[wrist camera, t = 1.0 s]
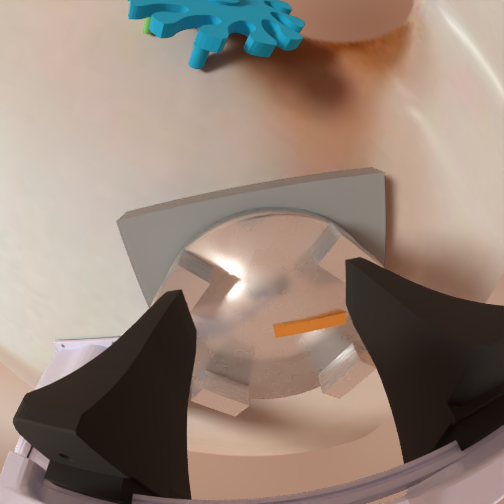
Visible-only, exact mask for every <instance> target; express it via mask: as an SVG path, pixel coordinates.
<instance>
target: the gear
mask: <svg viewBox="0 0 504 504" xmlns="http://www.w3.org/2000/svg"><path fill="white" fill-rule="evenodd" d="M128 1H130V8H129V14H128V17H129V19H143V18H146V19H145V24H144V29H143V33H145V34H152V33H153V34H155V35H156V36H158V37H160V38H168V37H172V36H174V35H175V34H176V33H178V32H180V31H182V30H185V29H191V28H196V29H198V33H197V35H196V38H195V41H194V48H193V51H192V54H191V58H190V61H189V66H190V67H192V68H195V69H201V68H203V67H204V65H205V62H206V59H207V57H208V54H209V51H211V52H214V53H219V52H221V51H222V50H223V48H224V45H225V43H226V41H227V38H228V36H229V34H231V33H241V34H244V35H246V36H247V37H248V39H247V41H246V43H245V45H244V47H243V48H244V50H245V52H246V53H248V54H251V55H255V56H261V57H270V55H271V53H272V52H273V50H274V48H275V47H276V45H277V46H278V47H279V48H281V49H282V50H287V51H288V50H294V49H297V47H298V46H299V44H300V43H301V41H302V40H303V37H302V36H301V35H300V34H299V33H300V31H301V30H302V28H303V27H304V25H305V22H304V21H302V20H301V19H299V18H297V17H294V16H291V15H289V14H290V12H291V11H292V8H291V7H290V5H289V4H288V3H286V2H283V1H280V0H128ZM268 33H269V34H271V35H272V36H273V37H271V36H270V35H269V34H268Z"/></svg>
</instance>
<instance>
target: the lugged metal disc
mask: <svg viewBox="0 0 504 504" xmlns="http://www.w3.org/2000/svg"><path fill="white" fill-rule="evenodd" d="M357 257H362V258H364V259H367V260H369V261H371V262H373V263H375V264H377V265H379V266H381V267H383V266H382V264H381V263H380V262H379V261H378V260H377V259H376V258H375V257H374V256H373V255H372V254H371V253H369V252H368V251H367V250H366V249H364V248H363V247H362V246H361V245H360V244H359V243H358V242H357V241H356V240H355V239H354V238H353V237H352V236H351V235H350V234H349V233H348V232H347V231H346V230H345V229H343V228H342V227H341V226H339V225H338V224H336V223H334V222H333V221H331V220H329V219H327V218H325V217H323V216H321V215H319V214H316V213H312V212H309V211H306V210H302V209H295V208H289V207H264V208H255V209H250V210H246V211H242V212H238V213H235V214H232V215H229V216H227V217H224V218H222V219H220V220H218V221H216V222H214V223H212V224H211V225H209V226H207V227H205V228H204V229H203V230H201V231H200V232H199V233H198V234H196V235H195V236H194V237H192V239H191V240H190V241H189V242H188V243H187V244H186V245H185V246H184V247H183V248H182V249H181V250H180V252H179V253H178V255H177V256H176V257H175V259H174V261H173V263H172V265H171V266H170V268H169V270H168V273H167V275H166V277H165V280H164V281H163V283H162V285H161V286H160V288H159V290H158V291H157V293H156V295H155V297H154V299H153V302H152V304H151V306H152V305H153V304H154V303H155V302H156V301H157V300H158V299H159V298H160V297H161V296H162V295H163V294H164V293H166V292H167V291H173V290H179V289H182V291H183V294H184V297H185V300H186V303H187V306H188V308H189V311H190V314H191V317H192V319H193V322H194V325H195V327H196V330H197V340H196V356H195V362H194V368H193V374H192V379H194V381H193V386H192V394H191V401H193V402H195V403H198V404H200V405H203V406H206V407H208V408H211V409H214V410H217V411H220V412H223V413H226V414H229V415H232V416H235V417H236V416H237V415H238V414H239V413H241V412H242V411H243V410H245V409H246V408H247V407H248V406H249V398H252V399H272V398H281V397H287V396H292V395H296V394H300V393H303V392H306V391H310V390H312V389H314V388H317V387H319V386H321V389H322V392H323V393H324V394H327V395H330V396H333V397H336V398H341V397H342V396H344V395H345V394H346V393H347V392H349V391H350V390H351V389H352V388H354V387H355V386H356V385H357V384H359V383H360V382H361V381H362V380H363V379H365V378H366V377H367V376H368V375H369V374H371V373H372V372H373V371H374V370H375V369H376V367H375V364H374V363H373V361H372V359H371V357H370V355H369V353H368V351H367V350H366V347H365V346H364V344H363V342H362V340H361V338H360V336H359V334H358V332H357V331H356V329H355V327H354V325H353V322H352V320H351V317H350V315H349V312H348V309H347V306H346V271H345V260H347V259H352V258H357ZM383 268H384V267H383ZM151 306H150V307H151Z"/></svg>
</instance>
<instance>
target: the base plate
mask: <svg viewBox="0 0 504 504" xmlns="http://www.w3.org/2000/svg"><path fill="white" fill-rule="evenodd" d="M264 207H289V208H295V209H302V210H306V211H309V212H312V213H316V214H319V215H321V216H323V217H325V218H327V219H329V220H331V221H333V222H334V223H336V224H338V225H339V226H341V227H342V228H343V229H345V230H346V231H347V232H348V233H349V234H350V235H351V236H352V237H353V238H354V239H355V240H356V241H357V242H358V243H359V244H360V245H361V246H362V247H363V248H364V249H366V250H367V251H368V252H369V253H371V254H372V255H373V256H374V257H375V258H376V259H377V260H378V261H379V262H380V263H381V264H382V266H383V267H384V264H385V232H386V210H385V178H384V172H382V171H379V170H377V169H374V168H372V167H371V168H362V169H353V170H345V171H337V172H329V173H322V174H315V175H308V176H301V177H295V178H288V179H282V180H276V181H270V182H264V183H258V184H253V185H247V186H242V187H236V188H231V189H226V190H221V191H216V192H211V193H206V194H201V195H197V196H192V197H188V198H183V199H179V200H174V201H170V202H166V203H161V204H157V205H153V206H149V207H145V208H141V209H137V210H133V211H129V212H126V213H125V214H124V215H123V216H122V217H121V218H119V219H118V220H117V225H118V228H119V231H120V234H121V237H122V239H123V242H124V245H125V248H126V251H127V254H128V256H129V259H130V262H131V264H132V267H133V270H134V272H135V275H136V277H137V280H138V282H139V285H140V287H141V290H142V292H143V295H144V297H145V300H146V302H147V304H148V307H149V308H150V306H151V304H152V302H153V299H154V297H155V295H156V293H157V291H158V290H159V288H160V286H161V285H162V283H163V281H164V280H165V277H166V275H167V273H168V270H169V268H170V266H171V265H172V263H173V261H174V259H175V257H176V256H177V255H178V253H179V252H180V250H181V249H182V248H183V247H184V246H185V245H186V244H187V243H188V242H189V241H190V240H191V239H192V237H194V236H195V235H196V234H198V233H199V232H200V231H201V230H203V229H204V228H205V227H207V226H209V225H211V224H212V223H214V222H216V221H218V220H220V219H222V218H224V217H227V216H229V215H232V214H235V213H238V212H242V211H246V210H250V209H255V208H264ZM366 350H367V349H366ZM193 381H194V379H192V380H191V386H190V393H191V394H192V386H193Z"/></svg>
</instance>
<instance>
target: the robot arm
mask: <svg viewBox="0 0 504 504" xmlns="http://www.w3.org/2000/svg"><path fill="white" fill-rule="evenodd" d="M345 271H346V306H347V309H348V312H349V315H350V317H351V320H352V322H353V325H354V327H355V329H356V331H357V332H358V334H359V336H360V338H361V340H362V342H363V344H364V346H365V347H366V349H367V351H368V353H369V355H370V357H371V359H372V361H373V363H374V364H375V366H376V368H377V371H378V373H379V375H380V377H381V380H382V383H383V386H384V389H385V391H386V394H387V397H388V400H389V404H390V407H391V410H392V413H393V417H394V421H395V424H396V428H397V432H398V436H399V440H400V445H401V450H402V455H403V460H404V464H403V465H401V466H398V467H395V468H393V469H390V470H387V471H384V472H381V473H378V474H375V475H372V476H369V477H366V478H362V479H359V480H356V481H352V482H349V483H345V484H341V485H337V486H332V487H328V488H323V489H319V490H314V491H308V492H303V493H297V494H291V495H283V496H275V497H266V498H256V499H241V500H191V492H190V484H189V474H188V459H187V407H188V398H189V392H190V386H191V380H192V374H193V368H194V362H195V356H196V340H197V330H196V327H195V325H194V322H193V319H192V317H191V314H190V311H189V308H188V306H187V303H186V300H185V297H184V294H183V291H182V289H179V290H173V291H167V292H166V293H164V294H163V295H162V296H161V297H160V298H159V299H158V300H157V301H156V302H155V303H154V304H153V305H152V306H151V307H150V308H149V309H148V310H147V311H146V313H145V314H144V315H143V316H142V317H141V318H140V319H139V320H138V321H137V322H136V323H135V324H134V325H133V326H132V327H130V328H129V329H128V330H127V331H126V332H125V333H124V334H123V335H122V336H121V337H112V338H98V339H81V340H57V341H55V342H54V343H53V344H54V346H55V348H56V350H57V351H56V352H55V354H54V356H53V357H52V359H51V361H50V363H49V364H48V366H47V368H46V370H45V371H44V373H43V375H42V377H41V378H40V380H39V382H38V384H37V386H36V390H34V391H32V392H29V393H27V394H26V395H25V396H24V398H23V400H22V402H21V404H20V406H19V408H18V410H17V412H16V414H15V416H14V418H13V424H14V426H15V428H16V430H17V431H18V433H19V434H20V435H21V436H20V438H19V441H18V443H17V445H16V448H15V451H14V452H12V451H9V453H8V456H7V459H6V461H5V464H4V467H3V469H2V472H1V475H0V504H366V503H369V502H372V501H375V500H378V499H381V498H384V497H387V496H389V495H392V494H395V493H398V492H400V491H403V490H405V489H408V488H409V489H408V491H407V494H406V495H405V496H404V497H400V498H397V499H394V500H391V501H388V502H385V503H381V504H496V503H497V502H499V501H500V500H501V499H502V498H504V306H500V305H491V304H485V303H479V302H473V301H469V300H465V299H460V298H456V297H453V296H449V295H446V294H443V293H440V292H437V291H434V290H431V289H428V288H426V287H423V286H421V285H419V284H416V283H414V282H412V281H409V280H407V279H405V278H403V277H401V276H399V275H397V274H395V273H393V272H391V271H389V270H387V269H385V268H383V267H381V266H379V265H377V264H375V263H373V262H371V261H369V260H367V259H364V258H362V257H357V258H352V259H347V260H345ZM410 487H411V488H410Z"/></svg>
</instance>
